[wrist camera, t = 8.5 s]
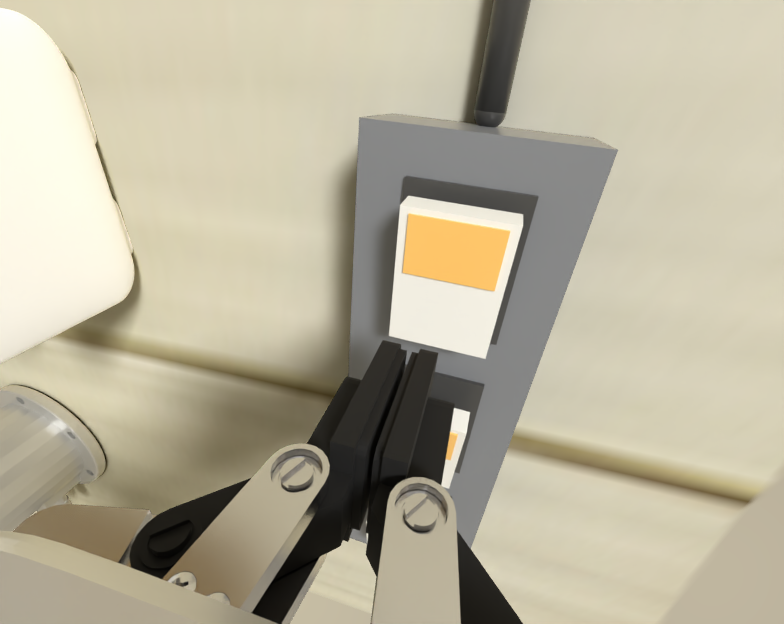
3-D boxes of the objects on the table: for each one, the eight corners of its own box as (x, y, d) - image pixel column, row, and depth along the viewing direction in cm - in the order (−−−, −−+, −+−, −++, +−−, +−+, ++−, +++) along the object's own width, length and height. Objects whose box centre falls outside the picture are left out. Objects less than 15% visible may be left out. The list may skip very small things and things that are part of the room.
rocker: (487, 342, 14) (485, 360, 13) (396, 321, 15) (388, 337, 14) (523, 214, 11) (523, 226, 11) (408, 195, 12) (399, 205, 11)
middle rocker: (452, 468, 19) (448, 490, 18) (382, 448, 19) (376, 467, 18) (469, 412, 15) (466, 435, 14) (384, 389, 16) (376, 410, 15)
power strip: (467, 517, 27) (459, 587, 23) (361, 483, 29) (338, 543, 25) (723, -249, 10) (859, -478, 6) (420, -231, 11) (370, -403, 7)
